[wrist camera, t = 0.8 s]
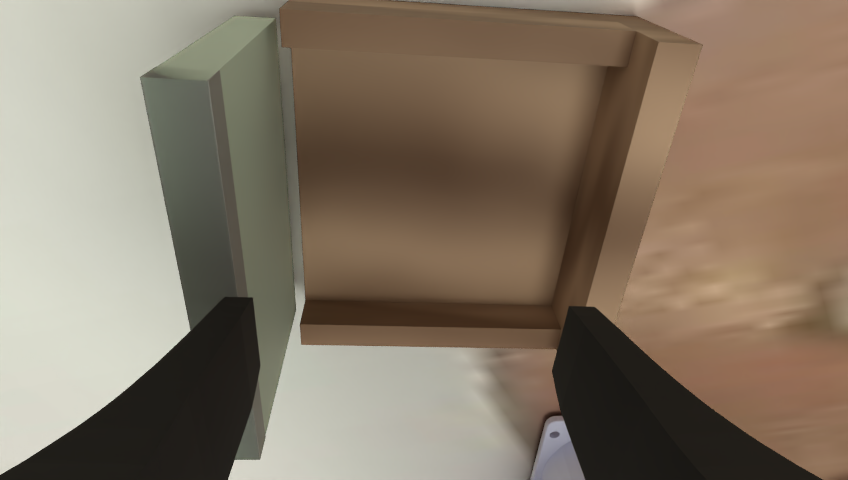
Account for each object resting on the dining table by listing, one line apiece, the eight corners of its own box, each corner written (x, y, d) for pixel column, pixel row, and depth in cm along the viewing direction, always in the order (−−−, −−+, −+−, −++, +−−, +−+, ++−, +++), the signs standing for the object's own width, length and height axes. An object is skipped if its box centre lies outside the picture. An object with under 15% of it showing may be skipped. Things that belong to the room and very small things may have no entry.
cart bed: (565, 303, 24) (597, 376, 20) (311, 297, 23) (295, 372, 20) (637, 16, 18) (703, 44, 14) (296, -6, 17) (268, 18, 13)
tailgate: (296, 309, 22) (259, 459, 16) (265, 308, 22) (216, 459, 16) (276, 18, 16) (208, 80, 10) (234, 15, 16) (140, 77, 10)
